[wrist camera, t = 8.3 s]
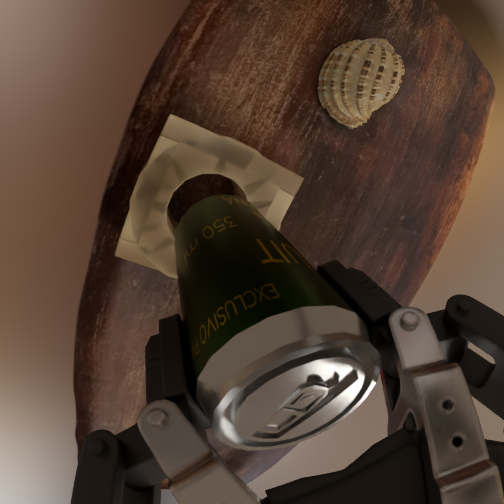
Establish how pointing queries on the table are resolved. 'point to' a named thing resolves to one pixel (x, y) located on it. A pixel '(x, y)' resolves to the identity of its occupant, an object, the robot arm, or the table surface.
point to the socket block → (188, 166)
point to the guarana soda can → (265, 330)
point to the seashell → (359, 80)
